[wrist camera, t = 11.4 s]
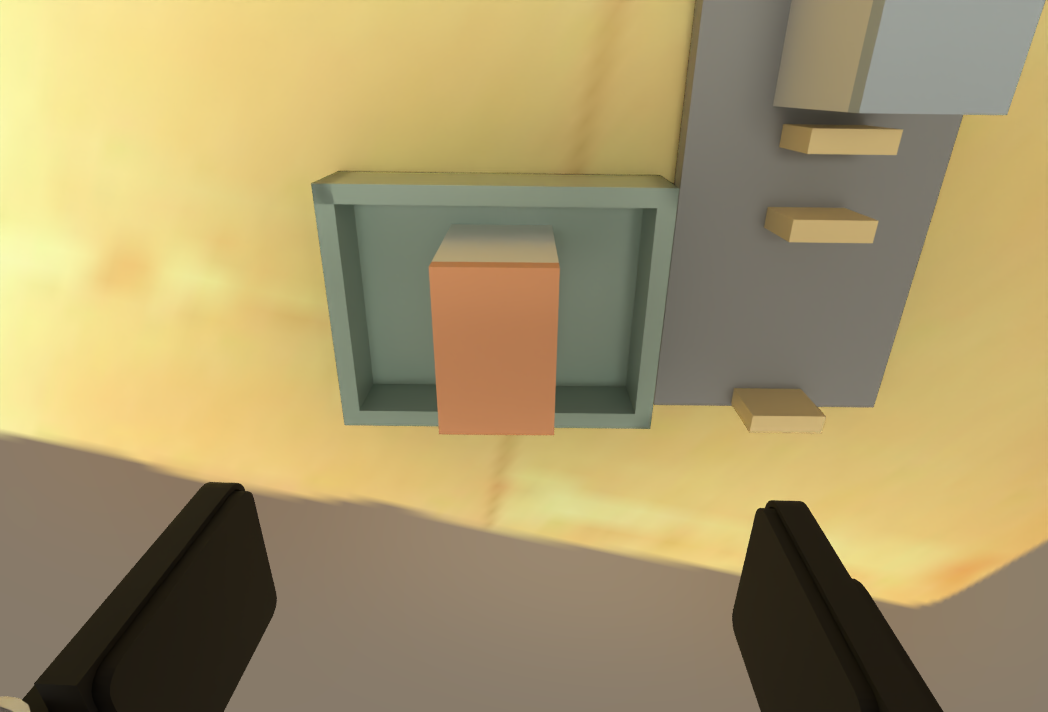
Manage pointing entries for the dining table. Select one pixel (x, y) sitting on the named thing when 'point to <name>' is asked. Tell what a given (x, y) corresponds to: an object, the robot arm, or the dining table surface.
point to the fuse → (495, 329)
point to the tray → (496, 199)
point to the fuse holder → (816, 190)
